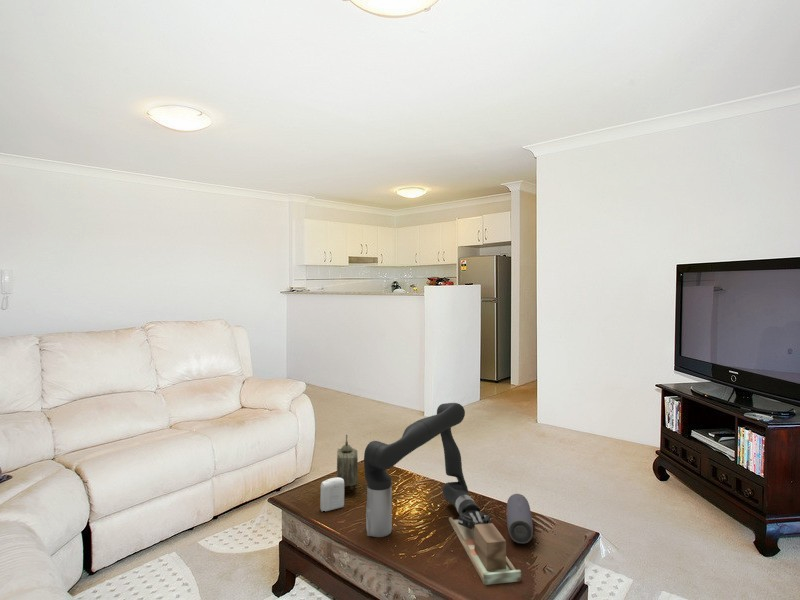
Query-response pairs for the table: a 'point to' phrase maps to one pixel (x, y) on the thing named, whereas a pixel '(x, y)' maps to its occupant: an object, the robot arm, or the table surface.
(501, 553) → the walnut block
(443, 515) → the table surface
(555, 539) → the table surface
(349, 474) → the grey-brown tall piece
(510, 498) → the bluetooth speaker
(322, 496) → the photo printer
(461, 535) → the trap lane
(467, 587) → the table surface
